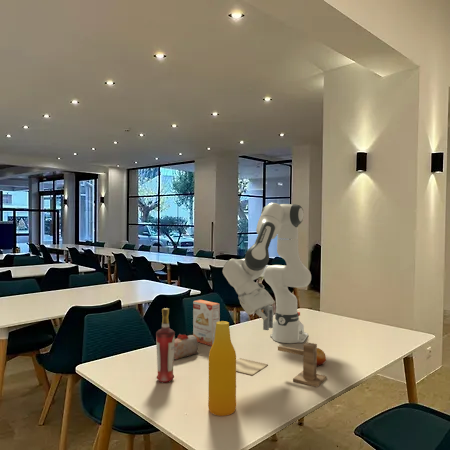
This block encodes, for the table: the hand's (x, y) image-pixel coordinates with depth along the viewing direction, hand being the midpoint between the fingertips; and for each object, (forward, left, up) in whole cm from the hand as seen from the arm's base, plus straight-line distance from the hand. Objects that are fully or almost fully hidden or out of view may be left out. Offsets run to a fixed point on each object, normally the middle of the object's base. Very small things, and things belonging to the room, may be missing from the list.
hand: (269, 317), depth 167 cm
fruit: (-19, +14, -23) cm, 32 cm away
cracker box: (-17, -44, -23) cm, 53 cm away
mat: (+1, -10, -22) cm, 25 cm away
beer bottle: (+39, +3, -23) cm, 45 cm away
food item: (+5, -42, -23) cm, 48 cm away
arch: (0, -1, -5) cm, 5 cm away
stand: (-1, +13, -22) cm, 26 cm away
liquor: (+31, -29, -23) cm, 49 cm away
